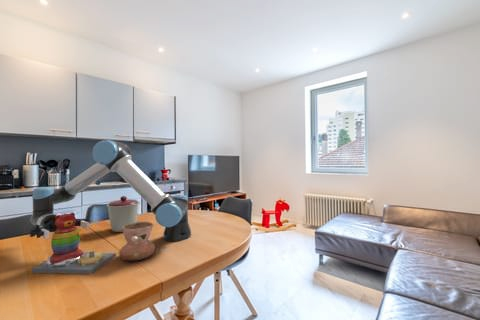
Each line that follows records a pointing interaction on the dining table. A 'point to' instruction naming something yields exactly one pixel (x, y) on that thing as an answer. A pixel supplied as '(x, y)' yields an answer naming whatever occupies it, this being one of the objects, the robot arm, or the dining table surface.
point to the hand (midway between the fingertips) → (69, 230)
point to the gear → (62, 262)
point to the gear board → (79, 264)
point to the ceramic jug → (137, 241)
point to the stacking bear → (65, 239)
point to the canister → (122, 213)
